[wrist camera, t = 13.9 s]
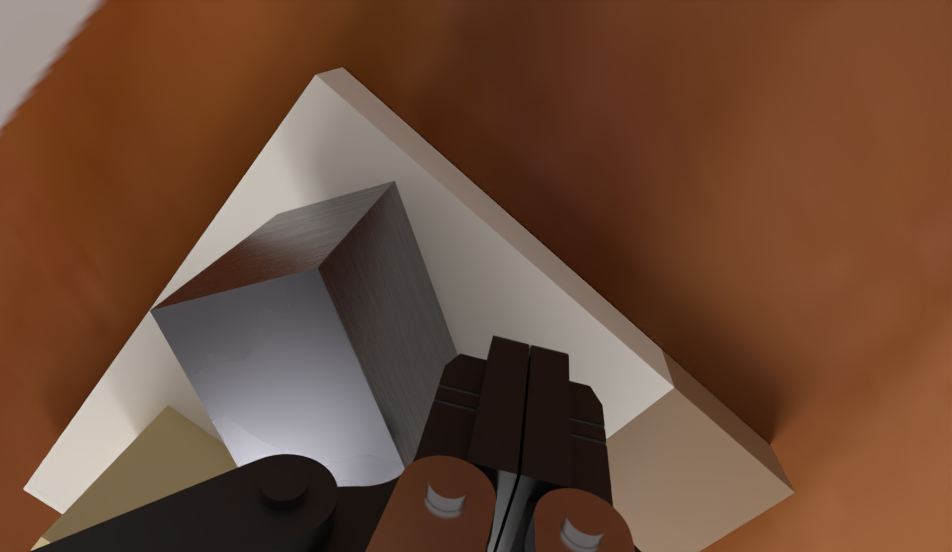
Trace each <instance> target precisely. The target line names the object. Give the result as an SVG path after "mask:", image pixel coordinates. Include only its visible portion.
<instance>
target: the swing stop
mask: <svg viewBox="0 0 952 552" xmlns="http://www.w3.org/2000/svg"><path fill="white" fill-rule="evenodd" d="M150 312H151V314H152V316H153V317H154V319H155V321H156V323H157V324H158V326H159V328H160V330H161V332H162V333H163V335H164V337H165V339H166V340H167V342H168V344H169V346H170V348H171V349H172V351H173V353H174V355H175V356H176V358H177V360H178V362H179V363H180V365H181V367H182V369H183V371H184V372H185V374H186V376H187V378H188V379H189V381H190V383H191V385H192V386H193V388H194V390H195V392H196V394H197V395H198V397H199V399H200V401H201V402H202V404H203V406H204V408H205V409H206V411H207V413H208V415H209V417H210V418H211V420H212V422H213V424H214V425H215V427H216V429H217V431H218V433H219V434H220V436H221V438H222V440H223V441H224V443H225V445H226V447H227V448H228V450H229V452H230V454H231V456H232V457H233V459H234V461H235V463H236V464H237V466H238V467H240V466H243V465H245V464H248V463H250V462H253V461H255V460H258V459H261V458H264V457H267V456H272V455H278V454H295V455H301V456H305V457H309V458H311V459H314V460H316V461H318V462H320V463H321V464H322V465H324V466H325V467H326V468H327V469H328V470H329V471H330V472H331V473H332V475H333V476H334V478H335V480H336V482H337V486H372V485H377V484H382V483H385V482H388V481H390V480H392V479H394V478H396V477H398V476H399V475H401V474H402V472H403V471H404V470H405V469H406V468H407V466H409V465H410V464H411V463H412V462H413V460H414V458H415V455H416V452H417V449H418V446H419V443H420V440H421V437H422V434H423V431H424V428H425V425H426V422H427V419H428V416H429V413H430V409H431V406H432V403H433V401H434V397H435V394H436V391H437V388H438V386H439V382H440V379H441V376H442V373H443V370H444V367H445V365H446V364H448V363H449V362H450V361H451V360H453V359H454V358H455V357H456V356H458V354H457V352H456V349H455V346H454V343H453V341H452V338H451V335H450V332H449V330H448V327H447V324H446V321H445V318H444V316H443V313H442V310H441V307H440V305H439V302H438V299H437V296H436V294H435V291H434V288H433V285H432V282H431V280H430V277H429V274H428V271H427V269H426V266H425V263H424V260H423V258H422V255H421V252H420V249H419V246H418V244H417V241H416V238H415V235H414V233H413V230H412V227H411V224H410V222H409V219H408V216H407V213H406V210H405V208H404V205H403V202H402V199H401V197H400V194H399V191H398V188H397V186H396V183H395V181H392V182H388V183H385V184H381V185H378V186H374V187H371V188H367V189H364V190H360V191H357V192H353V193H349V194H346V195H342V196H339V197H335V198H332V199H328V200H325V201H321V202H318V203H314V204H311V205H307V206H303V207H300V208H296V209H293V210H289V211H286V212H282V213H279V214H277V215H275V216H274V217H273V218H271V219H270V220H269V221H267V222H266V223H265V224H263V225H262V226H261V227H260V228H258V229H257V230H256V231H254V232H253V233H252V234H250V235H249V236H248V237H246V238H245V239H244V240H242V241H241V242H240V243H238V244H237V245H236V246H234V247H233V248H232V249H230V250H229V251H228V252H226V253H225V254H224V255H222V256H221V257H220V258H219V259H217V260H216V261H215V262H213V263H212V264H211V265H209V266H208V267H207V268H205V269H204V270H203V271H201V272H200V273H199V274H197V275H196V276H195V277H193V278H192V279H191V280H189V281H188V282H187V283H185V284H184V285H183V286H181V287H180V288H179V289H178V290H176V291H175V292H174V293H172V294H171V295H170V296H168V297H167V298H166V299H164V300H163V301H162V302H160V303H159V304H158V305H156V306H155V307H154V308H152V309H151V310H150Z"/></svg>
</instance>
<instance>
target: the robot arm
mask: <svg viewBox="0 0 952 552" xmlns="http://www.w3.org/2000/svg"><path fill="white" fill-rule="evenodd" d="M529 347H530V348H529ZM604 426H605V423H604V413H603V405H602V404H601V402H600V400H599V399H598V397H597V396H596V394H595V393H594V391H593V390H592V388H591V387H590V386H588V385H584V384H580V383H577V382H573V381H569V355H568V354H567V353H563V352H559V351H555V350H551V349H547V348H543V347H539V346H535V345H531V346H530V345H529V344H527V343H523V342H519V341H515V340H511V339H507V338H503V337H499V336H495V335H493V337H492V341H491V345H490V348H489V352H488V356H487V360H485V359H481V358H477V357H473V356H469V355H465V354H461V353H460V354H459V355H458V356H456V357H455V358H454V359H453V360H451V361H450V362H449V363H448V364H446V365H445V367H444V370H443V373H442V376H441V379H440V382H439V386H438V388H437V391H436V394H435V397H434V401H433V403H432V406H431V409H430V413H429V416H428V419H427V422H426V425H425V428H424V431H423V434H422V437H421V440H420V443H419V446H418V449H417V452H416V455H415V458H414V460H413V462H412V463H411V464H410V465H409V466H407V468H406V469H405V470H404V471H403V472H402V474H401V475H399V476H398V477H396V478H394V479H392V480H390V481H388V482H385V483H382V484H377V485H372V486H337V482H336V480H335V478H334V476H333V475H332V473H331V472H330V471H329V470H328V469H327V468H326V467H325V466H324V465H322V464H321V463H320V462H318V461H316V460H314V459H311V458H309V457H305V456H301V455H295V454H278V455H272V456H267V457H264V458H261V459H258V460H255V461H253V462H250V463H248V464H245V465H243V466H240V467H238V468H235V469H233V470H230V471H228V472H225V473H223V474H221V475H218V476H216V477H213V478H211V479H208V480H206V481H203V482H201V483H198V484H196V485H193V486H191V487H188V488H186V489H183V490H181V491H178V492H176V493H173V494H171V495H168V496H166V497H163V498H161V499H159V500H156V501H154V502H151V503H149V504H146V505H144V506H141V507H139V508H136V509H134V510H131V511H129V512H126V513H124V514H121V515H119V516H116V517H114V518H111V519H109V520H106V521H104V522H101V523H99V524H97V525H94V526H92V527H89V528H87V529H84V530H82V531H79V532H77V533H74V534H72V535H69V536H67V537H64V538H62V539H59V540H57V541H54V542H52V543H49V544H47V545H44V546H42V547H39V548H37V549H35V550H32V551H30V552H642V551H640V550H639V549H638V548H637V547H636V546H635V545H634V543H633V539H632V535H631V532H630V529H629V527H628V525H627V523H626V521H625V520H624V519H623V517H622V516H621V515H620V514H619V512H618V511H617V510H616V509H615V508H614V507H613V500H612V490H611V480H610V471H609V461H608V452H607V445H606V432H605V429H604Z"/></svg>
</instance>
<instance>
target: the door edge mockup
mask: <svg viewBox="0 0 952 552" xmlns="http://www.w3.org/2000/svg"><path fill="white" fill-rule="evenodd" d="M392 181H395V183H396V186H397V188H398V191H399V194H400V197H401V199H402V202H403V205H404V208H405V210H406V213H407V216H408V219H409V222H410V224H411V227H412V230H413V233H414V235H415V238H416V241H417V244H418V246H419V249H420V252H421V255H422V258H423V260H424V263H425V266H426V269H427V271H428V274H429V277H430V280H431V282H432V285H433V288H434V291H435V294H436V296H437V299H438V302H439V305H440V307H441V310H442V313H443V316H444V318H445V321H446V324H447V327H448V330H449V332H450V335H451V338H452V341H453V343H454V346H455V349H456V352H457V354H458V355H459V354H460V353H461V354H465V355H469V356H473V357H477V358H481V359H485V360H487V356H488V352H489V348H490V345H491V341H492V337H493V335H495V336H499V337H503V338H507V339H511V340H515V341H519V342H523V343H527V344H529V345H530V346H531V345H535V346H539V347H543V348H547V349H551V350H555V351H559V352H563V353H567V354H568V355H569V381H573V382H577V383H580V384H584V385H588V386H590V387H591V388H592V390H593V391H594V393H595V394H596V396H597V397H598V399H599V400H600V402H601V404H602V405H603V413H604V423H605V426H604V429H605V432H606V445H607V452H608V461H609V471H610V480H611V490H612V500H613V507H614V508H615V509H616V510H617V511H618V512H619V514H620V515H621V516H622V517H623V519H624V520H625V521H626V523H627V525H628V527H629V529H630V532H631V535H632V539H633V543H634V545H635V546H636V547H637V548H638V549H639V550H640V551H642V552H699V551H701V550H703V549H704V548H706V547H707V546H709V545H711V544H712V543H714V542H716V541H717V540H719V539H720V538H722V537H724V536H725V535H727V534H729V533H730V532H732V531H733V530H735V529H737V528H738V527H740V526H742V525H743V524H745V523H746V522H748V521H750V520H751V519H753V518H754V517H756V516H758V515H759V514H761V513H763V512H764V511H766V510H767V509H769V508H771V507H772V506H774V505H776V504H777V503H779V502H780V501H782V500H784V499H785V498H787V497H788V496H790V495H792V494H793V493H795V492H794V490H793V488H792V486H791V484H790V482H789V480H788V478H787V476H786V474H785V472H784V470H783V469H782V467H781V465H780V463H779V461H778V459H777V457H776V455H775V453H774V451H773V449H772V447H771V446H770V445H769V444H768V443H767V442H766V441H765V440H764V439H762V438H761V437H760V436H759V435H758V434H757V433H756V432H755V431H753V430H752V429H751V428H750V427H749V426H748V425H747V424H745V423H744V422H743V421H742V420H741V419H740V418H739V417H738V416H736V415H735V414H734V413H733V412H732V411H731V410H730V409H729V408H727V407H726V406H725V405H724V404H723V403H722V402H721V401H719V400H718V399H717V398H716V397H715V396H714V395H713V394H712V393H710V392H709V391H708V390H707V389H706V388H705V387H704V386H703V385H701V384H700V383H699V382H698V381H697V380H696V379H695V378H693V377H692V376H691V375H690V374H689V373H688V372H687V371H686V370H684V369H683V368H682V367H681V366H680V365H679V364H678V363H677V362H675V361H674V360H673V359H672V358H671V357H670V356H669V355H667V354H666V353H665V352H664V351H663V350H662V349H661V348H660V347H658V346H657V345H656V344H655V343H654V342H653V341H652V340H651V339H649V338H648V337H647V336H646V335H645V334H644V333H643V332H641V331H640V330H639V329H638V328H637V327H636V326H635V325H634V324H632V323H631V322H630V321H629V320H628V319H627V318H626V317H625V316H623V315H622V314H621V313H620V312H619V311H618V310H617V309H615V308H614V307H613V306H612V305H611V304H610V303H609V302H608V301H606V300H605V299H604V298H603V297H602V296H601V295H600V294H599V293H597V292H596V291H595V290H594V289H593V288H592V287H591V286H589V285H588V284H587V283H586V282H585V281H584V280H583V279H582V278H580V277H579V276H578V275H577V274H576V273H575V272H574V271H573V270H571V269H570V268H569V267H568V266H567V265H566V264H565V263H563V262H562V261H561V260H560V259H559V258H558V257H557V256H556V255H554V254H553V253H552V252H551V251H550V250H549V249H548V248H547V247H545V246H544V245H543V244H542V243H541V242H540V241H539V240H537V239H536V238H535V237H534V236H533V235H532V234H531V233H530V232H528V231H527V230H526V229H525V228H524V227H523V226H522V225H521V224H519V223H518V222H517V221H516V220H515V219H514V218H513V217H511V216H510V215H509V214H508V213H507V212H506V211H505V210H504V209H502V208H501V207H500V206H499V205H498V204H497V203H496V202H495V201H493V200H492V199H491V198H490V197H489V196H488V195H487V194H485V193H484V192H483V191H482V190H481V189H480V188H479V187H478V186H476V185H475V184H474V183H473V182H472V181H471V180H470V179H469V178H467V177H466V176H465V175H464V174H463V173H462V172H461V171H459V170H458V169H457V168H456V167H455V166H454V165H453V164H452V163H450V162H449V161H448V160H447V159H446V158H445V157H444V156H443V155H441V154H440V153H439V152H438V151H437V150H436V149H435V148H433V147H432V146H431V145H430V144H429V143H428V142H427V141H426V140H424V139H423V138H422V137H421V136H420V135H419V134H418V133H417V132H415V131H414V130H413V129H412V128H411V127H410V126H409V125H407V124H406V123H405V122H404V121H403V120H402V119H401V118H400V117H398V116H397V115H396V114H395V113H394V112H393V111H392V110H391V109H389V108H388V107H387V106H386V105H385V104H384V103H383V102H381V101H380V100H379V99H378V98H377V97H376V96H375V95H374V94H372V93H371V92H370V91H369V90H368V89H367V88H366V87H365V86H363V85H362V84H361V83H360V82H359V81H358V80H357V79H355V78H354V77H353V76H352V75H351V74H350V73H349V72H348V71H346V70H345V69H344V68H343V67H341V68H338V69H334V70H331V71H327V72H323V73H320V74H316V75H315V76H314V78H313V79H312V80H311V82H310V83H309V85H308V86H307V88H306V89H305V90H304V92H303V93H302V95H301V96H300V97H299V99H298V100H297V102H296V103H295V105H294V106H293V107H292V109H291V110H290V112H289V113H288V114H287V116H286V117H285V119H284V120H283V122H282V123H281V124H280V126H279V127H278V129H277V130H276V132H275V133H274V134H273V136H272V137H271V139H270V140H269V141H268V143H267V144H266V146H265V147H264V149H263V150H262V151H261V153H260V154H259V156H258V157H257V158H256V160H255V161H254V163H253V164H252V166H251V167H250V168H249V170H248V171H247V173H246V174H245V175H244V177H243V178H242V180H241V181H240V183H239V184H238V185H237V187H236V188H235V190H234V191H233V192H232V194H231V195H230V197H229V198H228V200H227V201H226V202H225V204H224V205H223V207H222V208H221V209H220V211H219V212H218V214H217V215H216V217H215V218H214V219H213V221H212V222H211V224H210V225H209V226H208V228H207V229H206V231H205V232H204V234H203V235H202V236H201V238H200V239H199V241H198V242H197V243H196V245H195V246H194V248H193V249H192V251H191V252H190V253H189V255H188V256H187V258H186V259H185V260H184V262H183V263H182V265H181V266H180V268H179V269H178V270H177V272H176V273H175V275H174V276H173V277H172V279H171V280H170V282H169V283H168V285H167V286H166V287H165V289H164V290H163V292H162V293H161V294H160V296H159V297H158V299H157V300H156V302H155V303H154V304H153V306H152V307H151V309H152V308H154V307H155V306H156V305H158V304H159V303H160V302H162V301H163V300H164V299H166V298H167V297H168V296H170V295H171V294H172V293H174V292H175V291H176V290H178V289H179V288H180V287H181V286H183V285H184V284H185V283H187V282H188V281H189V280H191V279H192V278H193V277H195V276H196V275H197V274H199V273H200V272H201V271H203V270H204V269H205V268H207V267H208V266H209V265H211V264H212V263H213V262H215V261H216V260H217V259H219V258H220V257H221V256H222V255H224V254H225V253H226V252H228V251H229V250H230V249H232V248H233V247H234V246H236V245H237V244H238V243H240V242H241V241H242V240H244V239H245V238H246V237H248V236H249V235H250V234H252V233H253V232H254V231H256V230H257V229H258V228H260V227H261V226H262V225H263V224H265V223H266V222H267V221H269V220H270V219H271V218H273V217H274V216H275V215H277V214H279V213H282V212H286V211H289V210H293V209H296V208H300V207H303V206H307V205H311V204H314V203H318V202H321V201H325V200H328V199H332V198H335V197H339V196H342V195H346V194H349V193H353V192H357V191H360V190H364V189H367V188H371V187H374V186H378V185H381V184H385V183H388V182H392ZM151 309H150V310H151ZM150 310H149V312H148V313H147V314H146V316H145V317H144V319H143V320H142V321H141V323H140V324H139V326H138V327H137V329H136V330H135V331H134V333H133V334H132V336H131V337H130V338H129V340H128V341H127V343H126V344H125V346H124V347H123V348H122V350H121V351H120V353H119V354H118V355H117V357H116V358H115V360H114V361H113V363H112V364H111V365H110V367H109V368H108V370H107V371H106V372H105V374H104V375H103V377H102V378H101V380H100V381H99V382H98V384H97V385H96V387H95V388H94V389H93V391H92V392H91V394H90V395H89V397H88V398H87V399H86V401H85V402H84V404H83V405H82V406H81V408H80V409H79V411H78V412H77V414H76V415H75V416H74V418H73V419H72V421H71V422H70V423H69V425H68V426H67V428H66V429H65V431H64V432H63V433H62V435H61V436H60V438H59V439H58V440H57V442H56V443H55V445H54V446H53V448H52V449H51V450H50V452H49V453H48V455H47V456H46V457H45V459H44V460H43V462H42V463H41V465H40V466H39V467H38V469H37V470H36V472H35V473H34V474H33V476H32V477H31V479H30V480H29V482H28V483H27V484H26V486H25V487H24V489H23V490H25V491H26V492H28V493H30V494H31V495H33V496H34V497H36V498H38V499H39V500H41V501H42V502H44V503H45V504H47V505H49V506H50V507H52V508H53V509H55V510H57V511H58V512H60V513H61V514H63V515H62V516H61V517H60V518H59V519H58V520H57V521H56V522H55V523H54V524H53V525H52V526H51V527H50V528H49V529H48V530H47V531H46V532H45V533H44V534H43V535H42V536H41V538H40V539H39V540H38V542H37V543H36V544H35V546H34V547H33V548H32V549H31V551H32V550H35V549H37V548H39V547H42V546H44V545H47V544H49V543H52V542H54V541H57V540H59V539H62V538H64V537H67V536H69V535H72V534H74V533H77V532H79V531H82V530H84V529H87V528H89V527H92V526H94V525H97V524H99V523H101V522H104V521H106V520H109V519H111V518H114V517H116V516H119V515H121V514H124V513H126V512H129V511H131V510H134V509H136V508H139V507H141V506H144V505H146V504H149V503H151V502H154V501H156V500H159V499H161V498H163V497H166V496H168V495H171V494H173V493H176V492H178V491H181V490H183V489H186V488H188V487H191V486H193V485H196V484H198V483H201V482H203V481H206V480H208V479H211V478H213V477H216V476H218V475H221V474H223V473H225V472H228V471H230V470H233V469H235V468H238V466H237V464H236V463H235V461H234V459H233V457H232V456H231V454H230V452H229V450H228V448H227V447H226V445H225V443H224V441H223V440H222V438H221V436H220V434H219V433H218V431H217V429H216V427H215V425H214V424H213V422H212V420H211V418H210V417H209V415H208V413H207V411H206V409H205V408H204V406H203V404H202V402H201V401H200V399H199V397H198V395H197V394H196V392H195V390H194V388H193V386H192V385H191V383H190V381H189V379H188V378H187V376H186V374H185V372H184V371H183V369H182V367H181V365H180V363H179V362H178V360H177V358H176V356H175V355H174V353H173V351H172V349H171V348H170V346H169V344H168V342H167V340H166V339H165V337H164V335H163V333H162V332H161V330H160V328H159V326H158V324H157V323H156V321H155V319H154V317H153V316H152V314H151V312H150ZM529 348H530V347H529Z"/></svg>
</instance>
